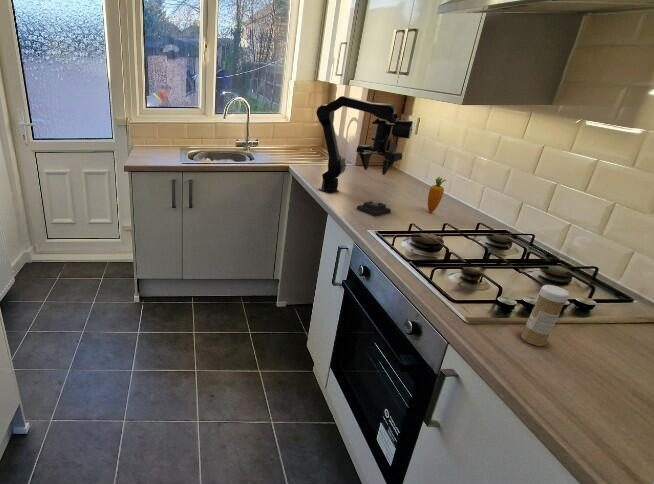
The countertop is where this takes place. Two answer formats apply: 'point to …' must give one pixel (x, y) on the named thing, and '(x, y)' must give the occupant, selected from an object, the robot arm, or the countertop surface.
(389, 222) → the countertop surface
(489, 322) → the countertop surface
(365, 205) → the small pad
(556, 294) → the sprinkles bottle
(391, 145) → the robot arm
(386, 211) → the base pad
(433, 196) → the carrot
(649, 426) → the countertop surface
